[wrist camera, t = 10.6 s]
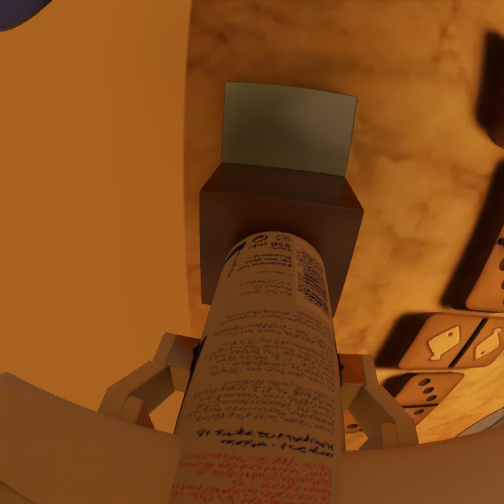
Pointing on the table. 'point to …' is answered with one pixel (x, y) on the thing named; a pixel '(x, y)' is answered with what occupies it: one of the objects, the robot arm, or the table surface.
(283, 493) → the beverage can
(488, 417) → the plate
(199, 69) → the table surface
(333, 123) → the stand
